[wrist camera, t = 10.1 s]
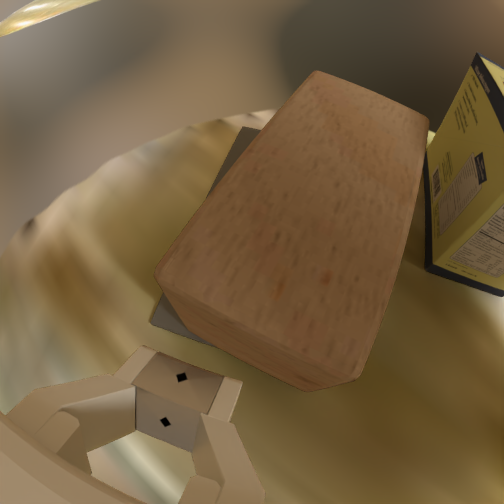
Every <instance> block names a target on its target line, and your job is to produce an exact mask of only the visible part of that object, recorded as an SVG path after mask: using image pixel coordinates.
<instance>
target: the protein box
mask: <svg viewBox="0 0 504 504" xmlns="http://www.w3.org/2000/svg"><path fill="white" fill-rule="evenodd" d="M423 171H424V188H425V223H426V238H425V270H426V271H428V272H431V273H433V274H436V275H440V276H443V277H445V278H448V279H451V280H454V281H457V282H460V283H463V284H466V285H468V286H471V287H474V288H477V289H480V290H483V291H486V292H489V293H492V294H494V295H497V296H500V297H503V296H504V68H503V67H501V66H500V65H498V64H497V63H495V62H493V61H491V60H490V59H488V58H487V57H485V56H483V55H481V54H480V53H478V52H476V55H475V57H474V60H473V62H472V64H471V66H470V68H469V70H468V72H467V74H466V76H465V78H464V81H463V83H462V85H461V87H460V89H459V91H458V93H457V95H456V97H455V99H454V101H453V103H452V105H451V107H450V108H449V110H448V112H447V114H446V116H445V118H444V120H443V122H442V124H441V126H440V128H439V129H438V131H437V133H436V134H435V136H434V138H433V140H432V142H431V144H430V145H429V147H428V149H427V151H426V152H425V157H424V163H423Z"/></svg>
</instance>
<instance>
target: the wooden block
mask: <svg viewBox="0 0 504 504" xmlns="http://www.w3.org/2000/svg"><path fill="white" fill-rule="evenodd" d="M428 130H429V120H428V118H427V117H425V116H424V115H422V114H420V113H418V112H416V111H414V110H412V109H410V108H407V107H406V106H404V105H402V104H399V103H397V102H395V101H393V100H391V99H389V98H386V97H384V96H382V95H380V94H377V93H375V92H373V91H370V90H368V89H366V88H363V87H361V86H358V85H356V84H353V83H351V82H348V81H345V80H343V79H340V78H337V77H335V76H332V75H329V74H326V73H323V72H320V71H313V72H312V74H311V75H310V76H309V77H308V78H307V79H306V80H305V81H304V82H303V83H302V85H301V86H300V87H299V88H298V89H297V90H296V91H295V92H294V93H293V95H292V96H291V97H290V98H289V99H288V100H287V101H286V102H285V104H284V105H283V106H282V107H281V108H280V109H279V110H278V112H277V113H276V114H275V115H274V116H273V117H272V119H271V120H270V121H269V122H268V123H267V124H266V126H265V127H264V128H263V129H262V130H261V132H260V133H259V134H258V135H257V136H256V137H255V139H254V140H253V141H252V142H251V143H250V145H249V146H248V147H247V148H246V150H245V151H244V152H243V153H242V154H241V156H240V157H239V158H238V159H237V161H236V162H235V163H234V164H233V166H232V167H231V168H230V169H229V171H228V172H227V173H226V174H225V176H224V177H223V178H222V179H221V181H220V182H219V183H218V184H217V186H216V187H215V188H214V190H213V191H212V192H211V193H210V195H209V196H208V197H207V199H206V200H205V201H204V203H203V204H202V205H201V206H200V208H199V209H198V210H197V212H196V213H195V214H194V216H193V217H192V218H191V220H190V221H189V222H188V224H187V225H186V226H185V228H184V229H183V230H182V232H181V233H180V235H179V236H178V237H177V239H176V240H175V241H174V243H173V244H172V246H171V247H170V248H169V250H168V251H167V252H166V254H165V255H164V257H163V258H162V259H161V261H160V262H159V264H158V265H157V267H156V269H155V272H154V278H155V279H156V281H157V282H158V284H159V286H160V287H161V289H162V291H163V292H164V294H165V295H166V297H167V298H168V300H169V302H170V303H171V305H172V306H173V308H174V309H175V311H176V312H177V314H178V316H179V317H180V319H181V320H182V322H183V323H184V325H185V326H186V328H187V329H188V330H189V331H190V332H192V333H193V334H195V335H197V336H199V337H200V338H202V339H204V340H206V341H207V342H209V343H211V344H213V345H214V346H216V347H218V348H220V349H222V350H224V351H225V352H227V353H229V354H231V355H233V356H235V357H236V358H238V359H240V360H242V361H244V362H246V363H248V364H250V365H252V366H254V367H255V368H257V369H259V370H261V371H263V372H265V373H267V374H269V375H271V376H273V377H275V378H277V379H279V380H281V381H283V382H286V383H288V384H290V385H292V386H294V387H296V388H298V389H300V390H302V391H305V392H311V391H316V390H320V389H324V388H329V387H333V386H337V385H341V384H344V383H348V382H352V381H355V380H356V379H357V378H358V377H359V376H360V375H361V373H362V371H363V369H364V366H365V364H366V361H367V359H368V356H369V354H370V351H371V349H372V346H373V344H374V341H375V338H376V336H377V333H378V330H379V328H380V325H381V322H382V319H383V316H384V313H385V311H386V308H387V305H388V302H389V299H390V296H391V293H392V289H393V286H394V283H395V280H396V277H397V273H398V270H399V266H400V263H401V259H402V256H403V252H404V249H405V245H406V241H407V237H408V233H409V229H410V225H411V221H412V217H413V213H414V208H415V204H416V199H417V194H418V189H419V184H420V179H421V174H422V168H423V163H424V157H425V150H426V144H427V137H428Z"/></svg>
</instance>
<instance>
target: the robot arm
mask: <svg viewBox="0 0 504 504" xmlns="http://www.w3.org/2000/svg"><path fill="white" fill-rule="evenodd" d="M242 384H243V382H242V381H240V380H237V379H233V378H230V377H227V376H223V375H220V374H216V373H214V372H211V371H208V370H205V369H202V368H199V367H196V366H193V365H191V364H188V363H186V362H183V361H181V360H178V359H176V358H173V357H171V356H168V355H166V354H164V353H161V352H158V351H156V350H154V349H151V348H149V347H147V346H145V345H143V346H140V347H139V348H138V349H137V350H136V351H135V352H134V353H133V354H132V355H131V356H130V357H129V359H128V360H127V361H126V362H125V363H124V364H123V365H122V366H121V367H120V368H119V369H118V370H117V371H116V373H115V374H114V375H111V374H109V373H108V374H104V375H100V376H95V377H91V378H87V379H82V380H78V381H73V382H69V383H64V384H59V385H54V386H49V387H44V388H39V389H35V390H33V391H32V392H31V393H30V394H29V395H28V396H27V397H26V398H24V399H23V400H22V401H21V402H20V403H19V404H18V405H17V406H16V407H14V408H13V409H12V410H11V411H10V412H9V413H8V414H7V415H4V414H3V413H2V412H1V411H0V504H147V503H144V502H142V501H140V500H138V499H136V498H133V497H131V496H129V495H127V494H125V493H123V492H121V491H119V490H117V489H115V488H113V487H111V486H109V485H107V484H105V483H104V482H102V481H100V480H98V479H96V478H94V477H93V476H91V474H92V471H91V468H90V464H89V460H88V457H87V452H89V451H92V450H94V449H96V448H99V447H101V446H103V445H106V444H108V443H110V442H113V441H115V440H117V439H119V438H122V437H124V436H126V435H128V434H130V433H132V432H135V430H138V431H140V432H142V433H145V434H147V435H150V436H152V437H154V438H157V439H159V440H162V441H164V442H167V443H169V444H171V445H174V446H176V447H179V448H181V449H183V450H186V451H188V452H191V453H192V457H193V461H194V465H195V470H196V474H197V475H196V476H193V477H190V480H189V482H188V484H187V486H186V488H185V490H184V492H183V495H182V497H181V499H180V501H179V503H178V504H264V499H265V495H266V493H265V491H264V489H263V487H262V485H261V483H260V480H259V478H258V476H257V474H256V472H255V470H254V468H253V465H252V463H251V461H250V459H249V457H248V455H247V452H246V450H245V448H244V446H243V443H242V441H241V439H240V436H239V434H238V432H237V430H236V427H235V425H234V424H233V423H230V421H231V418H232V415H233V412H234V409H235V406H236V403H237V400H238V397H239V394H240V390H241V387H242Z"/></svg>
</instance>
